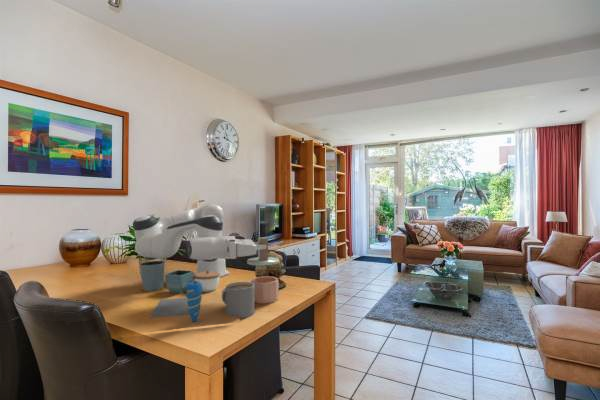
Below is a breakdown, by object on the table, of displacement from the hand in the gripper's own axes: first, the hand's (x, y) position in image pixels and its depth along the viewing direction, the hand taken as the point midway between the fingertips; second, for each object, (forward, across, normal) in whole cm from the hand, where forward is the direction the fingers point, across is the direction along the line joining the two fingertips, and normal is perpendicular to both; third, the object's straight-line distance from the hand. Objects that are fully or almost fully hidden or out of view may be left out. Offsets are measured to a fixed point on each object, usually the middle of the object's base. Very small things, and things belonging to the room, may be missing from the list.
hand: (265, 245), depth 124 cm
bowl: (0, 0, -22) cm, 22 cm away
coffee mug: (-12, +12, -22) cm, 28 cm away
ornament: (-26, +18, -22) cm, 39 cm away
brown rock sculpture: (+5, -16, -22) cm, 28 cm away
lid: (-1, 0, -7) cm, 7 cm away
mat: (-33, +1, -22) cm, 40 cm away
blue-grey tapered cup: (-48, -31, -22) cm, 62 cm away
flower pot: (-35, -20, -22) cm, 46 cm away
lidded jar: (-23, -19, -22) cm, 38 cm away
